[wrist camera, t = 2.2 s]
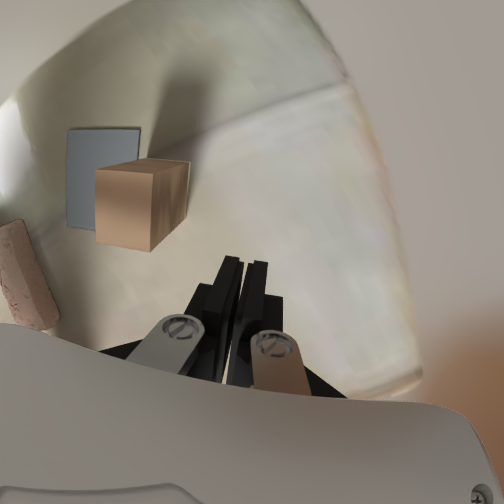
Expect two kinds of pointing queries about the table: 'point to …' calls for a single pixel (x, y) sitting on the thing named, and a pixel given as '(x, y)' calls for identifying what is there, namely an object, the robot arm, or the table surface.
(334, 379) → the table surface
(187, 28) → the table surface
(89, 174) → the mat
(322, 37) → the table surface
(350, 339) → the table surface
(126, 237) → the block
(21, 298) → the brick
